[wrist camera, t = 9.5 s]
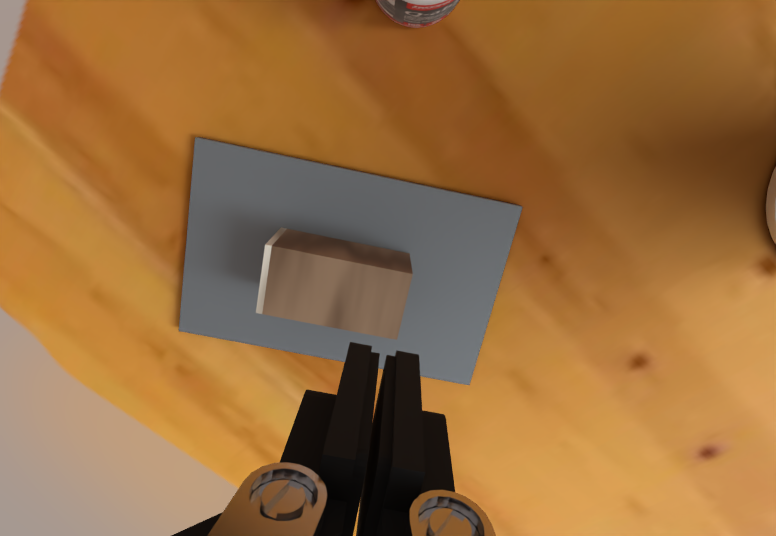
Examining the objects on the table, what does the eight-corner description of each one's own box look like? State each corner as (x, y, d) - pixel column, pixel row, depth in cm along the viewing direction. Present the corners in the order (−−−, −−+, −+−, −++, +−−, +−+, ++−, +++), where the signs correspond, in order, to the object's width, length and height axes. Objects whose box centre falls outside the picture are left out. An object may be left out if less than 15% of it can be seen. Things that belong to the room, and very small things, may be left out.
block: (281, 227, 33) (409, 253, 33) (272, 287, 34) (395, 311, 35) (265, 244, 29) (412, 274, 29) (255, 312, 30) (397, 340, 31)
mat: (520, 205, 33) (522, 207, 32) (468, 381, 37) (469, 385, 37) (198, 137, 32) (195, 137, 31) (182, 327, 36) (178, 330, 35)
